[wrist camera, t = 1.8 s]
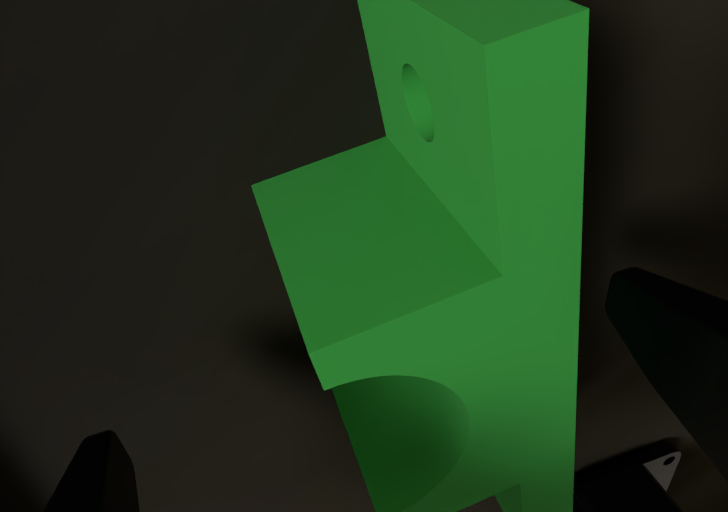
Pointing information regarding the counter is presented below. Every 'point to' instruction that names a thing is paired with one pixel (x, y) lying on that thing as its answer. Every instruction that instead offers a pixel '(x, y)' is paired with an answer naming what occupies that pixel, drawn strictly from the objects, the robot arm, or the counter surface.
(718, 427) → the robot arm
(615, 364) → the counter surface
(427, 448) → the pipe clamp
